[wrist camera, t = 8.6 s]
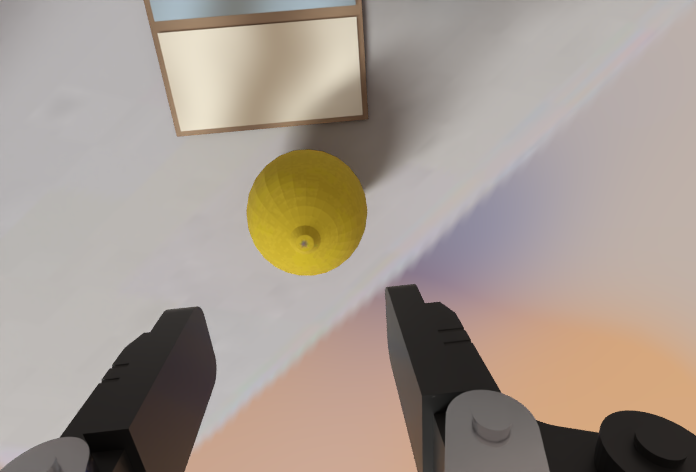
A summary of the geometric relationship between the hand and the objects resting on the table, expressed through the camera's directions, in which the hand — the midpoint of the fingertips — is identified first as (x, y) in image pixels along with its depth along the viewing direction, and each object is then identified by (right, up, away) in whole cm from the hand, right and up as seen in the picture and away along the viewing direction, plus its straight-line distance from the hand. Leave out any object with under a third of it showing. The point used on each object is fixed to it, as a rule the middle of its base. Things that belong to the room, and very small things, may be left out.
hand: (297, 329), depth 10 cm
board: (-3, +13, +9) cm, 16 cm away
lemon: (-1, +5, +13) cm, 14 cm away
